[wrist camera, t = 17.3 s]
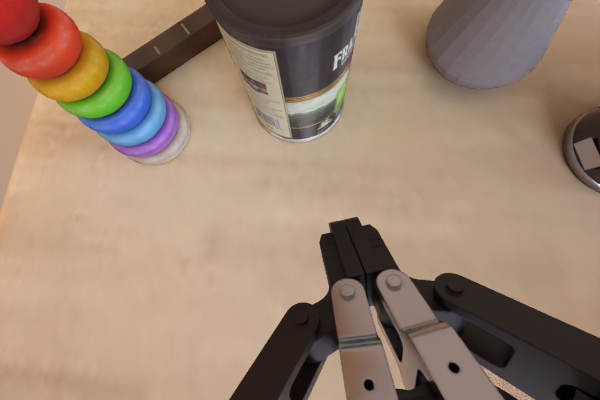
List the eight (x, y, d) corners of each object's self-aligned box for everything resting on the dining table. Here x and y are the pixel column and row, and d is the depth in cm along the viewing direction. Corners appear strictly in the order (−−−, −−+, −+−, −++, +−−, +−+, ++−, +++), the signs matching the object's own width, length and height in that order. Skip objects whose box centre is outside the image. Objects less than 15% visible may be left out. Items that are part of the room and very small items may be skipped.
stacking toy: (207, 137, 28) (10, -66, 10) (150, 181, 28) (-171, 52, 9) (169, 91, 30) (-65, -161, 11) (114, 132, 29) (-226, -63, 11)
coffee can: (350, 67, 29) (382, -97, 15) (335, 149, 27) (357, 48, 13) (264, 56, 30) (221, -108, 16) (245, 135, 28) (178, 27, 14)
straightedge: (280, -22, 32) (277, -45, 29) (292, -9, 32) (290, -32, 29) (93, 102, 30) (73, 89, 28) (103, 117, 30) (83, 105, 27)
